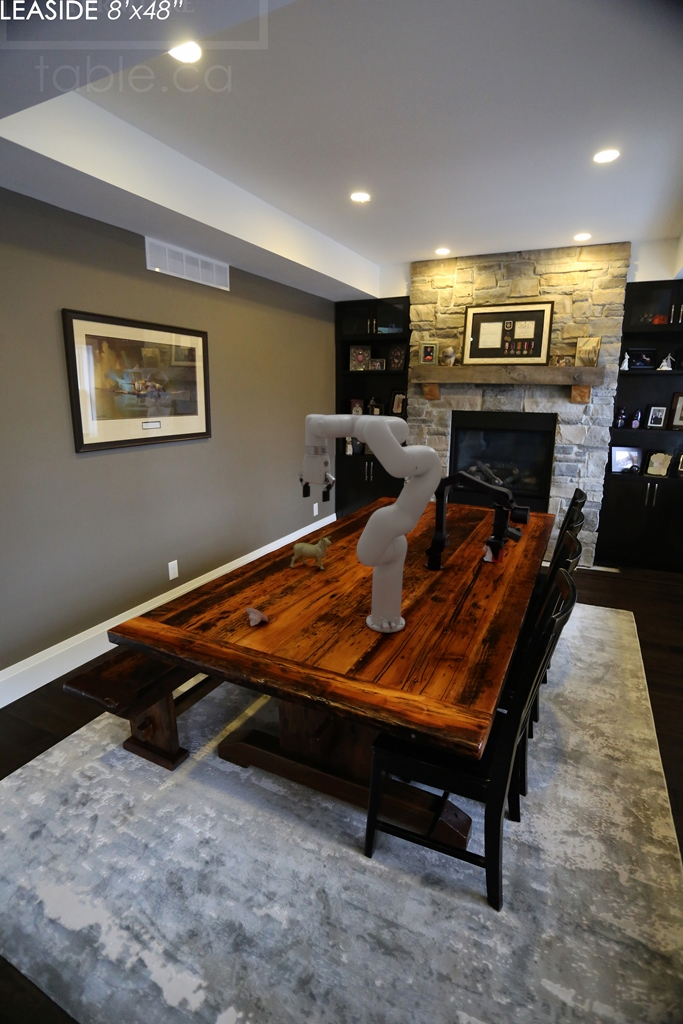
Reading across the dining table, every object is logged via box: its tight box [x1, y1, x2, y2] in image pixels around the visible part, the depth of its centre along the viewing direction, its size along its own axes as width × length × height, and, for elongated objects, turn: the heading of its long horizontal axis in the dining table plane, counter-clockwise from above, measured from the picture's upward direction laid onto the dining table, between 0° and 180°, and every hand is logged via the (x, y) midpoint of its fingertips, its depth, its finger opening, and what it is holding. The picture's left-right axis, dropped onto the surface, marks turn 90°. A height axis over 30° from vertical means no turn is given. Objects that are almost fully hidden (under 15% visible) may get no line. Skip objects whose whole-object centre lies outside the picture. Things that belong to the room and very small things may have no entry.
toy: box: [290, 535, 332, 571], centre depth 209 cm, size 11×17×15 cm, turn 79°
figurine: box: [482, 536, 493, 562], centre depth 223 cm, size 8×8×12 cm
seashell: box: [245, 607, 269, 627], centre depth 160 cm, size 8×5×8 cm
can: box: [490, 548, 505, 564], centre depth 200 cm, size 4×4×5 cm
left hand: (316, 499), depth 176 cm, fingers open, 9 cm apart
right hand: (497, 558), depth 200 cm, fingers closed on can, 4 cm apart
